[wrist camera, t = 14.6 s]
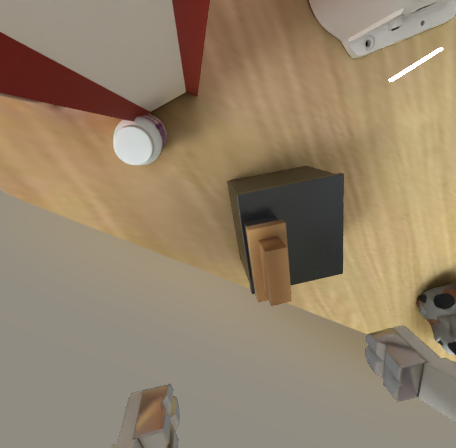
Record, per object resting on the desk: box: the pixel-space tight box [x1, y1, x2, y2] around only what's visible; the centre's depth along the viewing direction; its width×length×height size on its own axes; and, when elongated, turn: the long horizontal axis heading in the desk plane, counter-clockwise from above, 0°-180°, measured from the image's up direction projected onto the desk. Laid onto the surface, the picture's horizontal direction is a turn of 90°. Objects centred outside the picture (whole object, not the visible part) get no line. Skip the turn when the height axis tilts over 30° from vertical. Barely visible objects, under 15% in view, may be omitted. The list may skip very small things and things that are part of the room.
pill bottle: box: [113, 114, 167, 165], centre depth 30 cm, size 5×5×10 cm
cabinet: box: [227, 166, 344, 294], centre depth 36 cm, size 14×14×10 cm
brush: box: [244, 216, 291, 306], centre depth 29 cm, size 4×10×6 cm, turn 9°
